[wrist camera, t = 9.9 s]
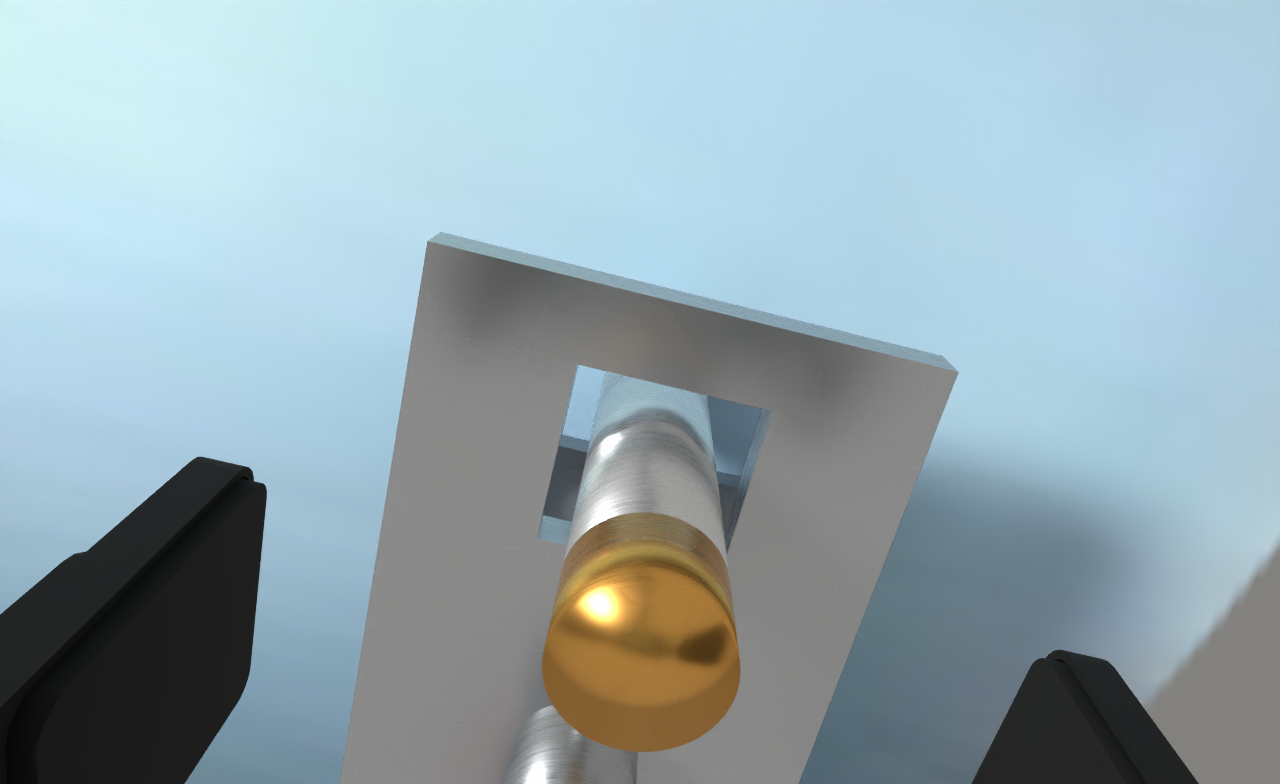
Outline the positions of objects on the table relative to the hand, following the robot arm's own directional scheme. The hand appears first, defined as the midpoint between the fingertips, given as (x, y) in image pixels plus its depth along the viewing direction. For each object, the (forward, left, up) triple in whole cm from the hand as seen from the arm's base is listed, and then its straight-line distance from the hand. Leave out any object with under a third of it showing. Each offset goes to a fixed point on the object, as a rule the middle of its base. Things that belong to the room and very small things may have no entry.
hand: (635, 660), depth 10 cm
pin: (+1, 0, -15) cm, 15 cm away
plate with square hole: (+8, 0, -15) cm, 17 cm away
